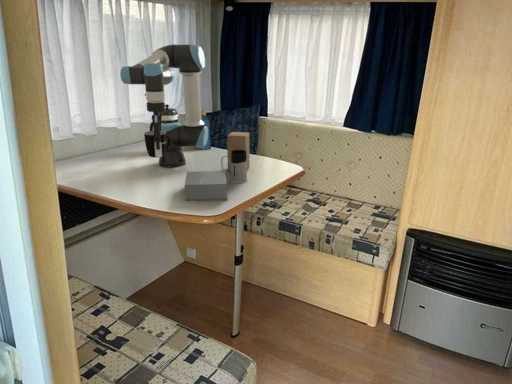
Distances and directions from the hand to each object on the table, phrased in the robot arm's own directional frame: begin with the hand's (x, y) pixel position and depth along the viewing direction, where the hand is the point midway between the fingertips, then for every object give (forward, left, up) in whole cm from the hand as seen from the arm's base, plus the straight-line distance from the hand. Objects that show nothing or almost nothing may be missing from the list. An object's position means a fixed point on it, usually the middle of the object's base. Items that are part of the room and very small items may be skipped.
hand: (159, 153), depth 181 cm
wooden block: (-36, +40, -20) cm, 57 cm away
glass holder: (-16, +35, -20) cm, 43 cm away
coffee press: (-82, +1, -20) cm, 84 cm away
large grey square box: (0, +20, -20) cm, 28 cm away
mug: (-1, 0, -1) cm, 1 cm away
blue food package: (-91, +23, -20) cm, 96 cm away
